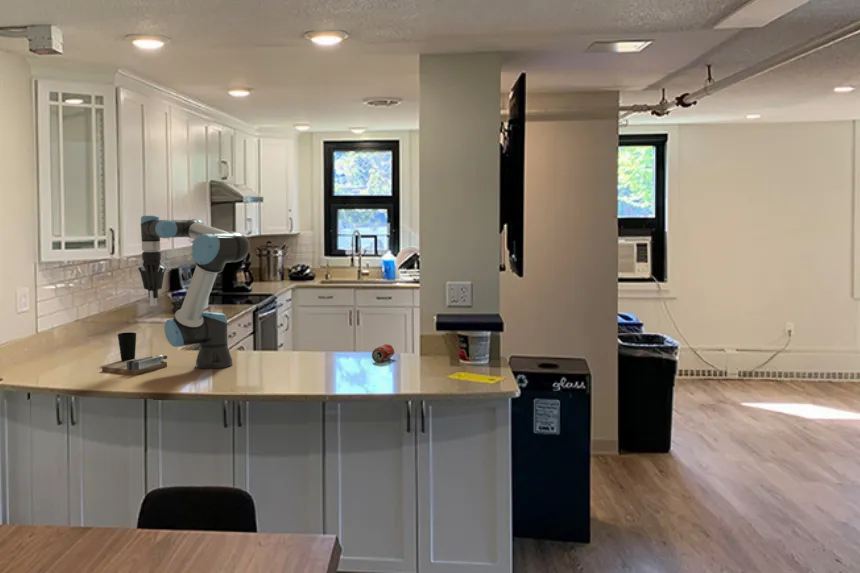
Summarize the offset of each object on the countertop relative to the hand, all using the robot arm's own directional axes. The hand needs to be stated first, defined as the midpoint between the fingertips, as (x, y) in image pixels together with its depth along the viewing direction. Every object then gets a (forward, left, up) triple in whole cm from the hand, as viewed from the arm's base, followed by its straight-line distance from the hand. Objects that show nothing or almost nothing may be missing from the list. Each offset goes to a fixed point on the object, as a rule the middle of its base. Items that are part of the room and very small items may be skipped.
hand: (153, 305), depth 328 cm
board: (-1, +13, -25) cm, 29 cm away
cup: (+16, 0, -26) cm, 30 cm away
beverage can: (-89, -43, -26) cm, 102 cm away
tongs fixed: (-9, +13, -23) cm, 28 cm away
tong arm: (-7, +16, -23) cm, 29 cm away
